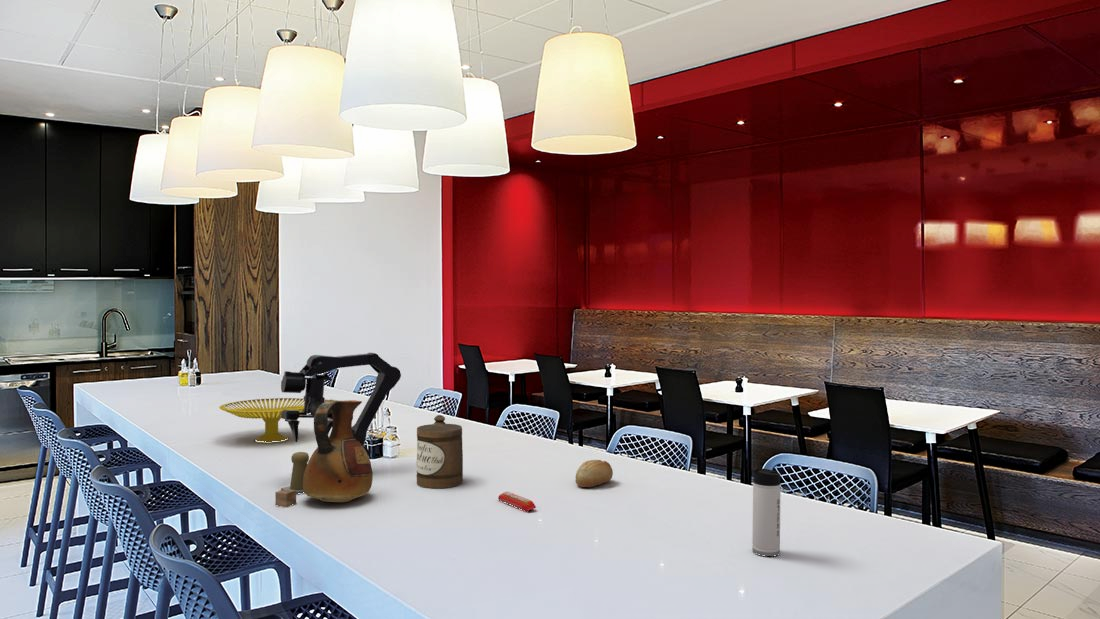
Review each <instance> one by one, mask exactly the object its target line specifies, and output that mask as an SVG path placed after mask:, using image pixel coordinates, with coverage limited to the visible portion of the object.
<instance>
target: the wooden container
mask: <svg viewBox="0 0 1100 619" xmlns="http://www.w3.org/2000/svg"><path fill="white" fill-rule="evenodd" d="M433 420H434V422H433V423H431V424H423V425H420V426H417V427H416V439H417V440H416V485H417V486H419V487H421V488H425V487H426V489H447V488H446V487H450V488H454V487H453V486H455V487H457V485H458V486H460V485H462V484H463V482H464V472H463V470H464V462H463V461H464V457H463V455H464V454H463V426H462V425H460V424H455V423H446V422H445V420H446V418H445V416H444V415H443V414H442V415H441V414H437V415H436V416H435V417H434V418H433ZM461 483H462V484H461ZM459 484H460V485H459Z"/></svg>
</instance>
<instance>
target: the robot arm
mask: <svg viewBox="0 0 1100 619" xmlns="http://www.w3.org/2000/svg"><path fill="white" fill-rule="evenodd" d="M359 366H360V367H361V366H370V367H371V368H372V370H374V372H376V373H377V376H376V378H375V384H374V385H375V386H374V389H373V391H372V393H371V394H370V396H369V398H368V400H367V401H366V403H365V405H364V407H363V409H362V411H361V413H360V415H359V417H358V418H357V420H356V422H355V423H354V425H352V432H353V435H354V438H355V439H356V440H357V441H359V442H360V443H361V444H362V446H363V447H364V449H365V450H366V452H367V454H368V456H369V457H370V454H371V451H370V449H368V448H367V447H366V446H365V443H366V440H367V434H368V433H367V432H368V430H369V427H370V426H371V424H372V422H373V421H374V418H375V416H376V414H377V413H378V411H379V409H380V408H381V406H382V403H383V401H384V399H385V398H386V396H387V394H388V393H389V392H390V391H391V390H392V389H393V388H395V386H396V385H397V384H398V382H399V381H400V380H401V377H402V373H401V371H400V369H399V368H398V367H396V366H393V365H391V364H389V363H388V362H387V361H386V360H384V359H383V358H382V357H380V356H379V355H378V353H374V352H367V353H359V354H358V353H357V354H349V355H338V356H331V355H322V354H314V355H310V356H309V358H308V359H307V360H306V364H305V365H304V366H303V367H302V368H301V370H299V372H296V371H294V372H292V371H289V370H285V371H284V372H283V373H284V374H283V376H282V380H280V381H281V382H280V390H281V393H284V394H286V393H289V394H290V393H292V394H294V393H295V394H301V393H302V392H304V391H305V394H304V396H303V400H304V399H305V401H304V402H303V403H304V405H303V406H304V409H303V410H302V412H299V411H297V410H283V411H282V413H281V419H283V420H284V422H287V424H288V426H289V428H290V430H291V433H292V437H293V439H294V442H295V443H297V442H298V440H299V424H300V422H301V421H300V420H298V419H299V418H300V419H301V418H302V419H303V418H305V419H307V418H309V419H314V415H315V412H316V410H317V409H318V407H319V406H320V405H321V404H323V403H324V402H325V400H326V399H325V397H324V392H325V382H326V381H332V377H330V376H329V375H328V372H331V371H333V370H337V369H342V368H351V367H359ZM332 426H333V416H332V411H331V409H330V411H329V415H328V421H327V429H328V435H330V434H329V433H331V431H332Z"/></svg>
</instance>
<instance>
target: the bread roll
mask: <svg viewBox="0 0 1100 619" xmlns="http://www.w3.org/2000/svg"><path fill="white" fill-rule="evenodd" d="M612 468H613V467H612V466H611V464H610V463H609V462H608V461H606V460H602V459H590V460H586V461H584V462H582V464H581V465H580V466H579V467H578V468H577V471H576V473H575V483H576V485H577V486H578V487H579V486H580V487H579V488H581V487H588V488H592V487H596V486H598V485H602V484H605V483H607V482H608V483H609V482H610V481H611V480H612V479H613V474H614V472H613V471H614V470H613V469H612Z"/></svg>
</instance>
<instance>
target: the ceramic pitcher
mask: <svg viewBox="0 0 1100 619" xmlns="http://www.w3.org/2000/svg"><path fill="white" fill-rule="evenodd" d="M362 403H363V401H362V400H356V399H355V400H353V399H352V400H351V399H348V400H336V399H333V398H331V399H325V402H324V403H323V404H321V405H320V406H319V407H318V409H317V410H316V412H315V415H314V418H313V432H314V436H315V441H316V445H317V447H316V449H315V450H314V451H313V452H312V453H311V454H312V455H311V456H310V457H309V460H308V462H307V466H306V469H305V471H304V475H303V490H304V493H303V494H305V495H306V496H307V497H310V498H313V499H316V500H317V499H318V500H320V501H321V502H326V503H327V502H330V503H331V502H332V503H348V502H351V501H352V500H354V499H357V498H359V497H362V496H365V495H366V494H368V493H369V492H370V490H371V489H372V485H373V479H374V478H373V477H374V476H373V475H374V474H373V468H372V462H371V459H370V455H369V456H368V454H367V452H366V450H365V449H364V447H363V446H362V444H361V443H360V442H359V441H357V440H356V439H355V438H354V435H353V432H352V427H353V424H352V423H353V419H354V413H355V410H356V409H357V408H358V407H359V406H360V405H361V404H362ZM330 409H331V411H332V416H333V426H332V428H331V430H330V434H328V429H327V421H328V415H329V411H330Z"/></svg>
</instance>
